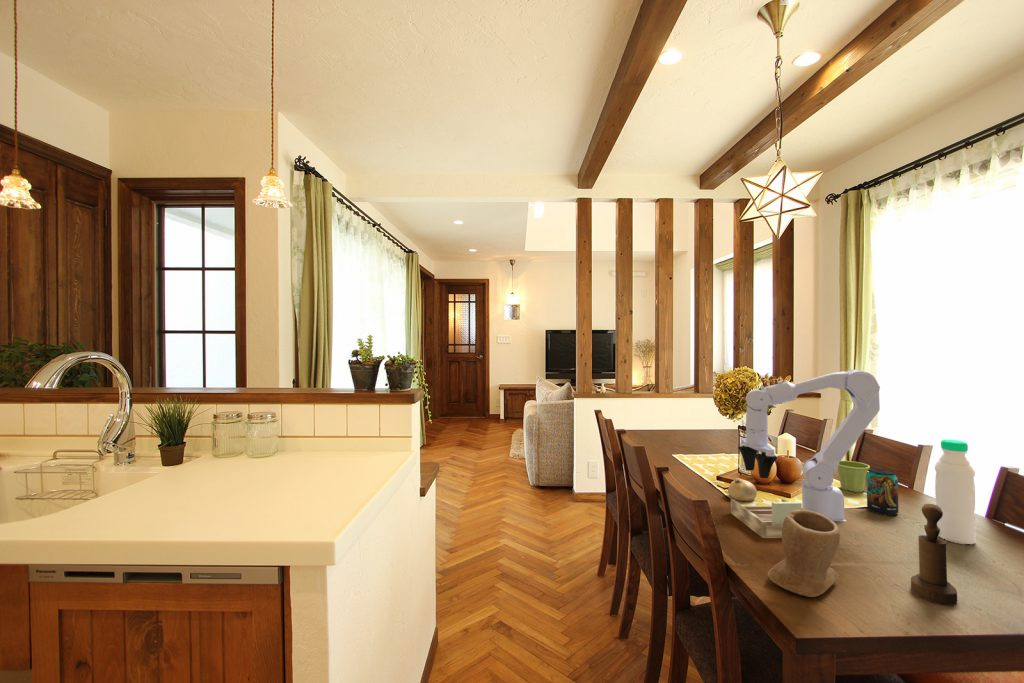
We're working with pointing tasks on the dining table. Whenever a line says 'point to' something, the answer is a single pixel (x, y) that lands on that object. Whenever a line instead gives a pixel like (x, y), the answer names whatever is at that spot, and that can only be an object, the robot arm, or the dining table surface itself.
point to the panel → (783, 511)
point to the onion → (742, 490)
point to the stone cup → (807, 553)
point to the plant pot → (852, 475)
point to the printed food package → (882, 491)
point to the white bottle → (955, 493)
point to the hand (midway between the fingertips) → (756, 473)
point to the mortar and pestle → (933, 562)
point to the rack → (756, 519)
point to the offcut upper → (765, 517)
